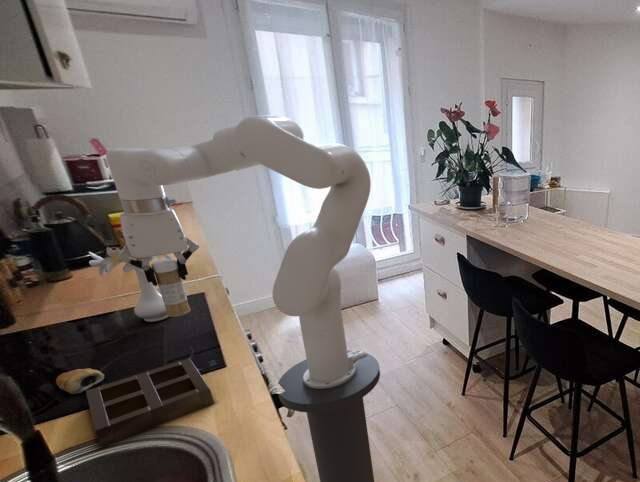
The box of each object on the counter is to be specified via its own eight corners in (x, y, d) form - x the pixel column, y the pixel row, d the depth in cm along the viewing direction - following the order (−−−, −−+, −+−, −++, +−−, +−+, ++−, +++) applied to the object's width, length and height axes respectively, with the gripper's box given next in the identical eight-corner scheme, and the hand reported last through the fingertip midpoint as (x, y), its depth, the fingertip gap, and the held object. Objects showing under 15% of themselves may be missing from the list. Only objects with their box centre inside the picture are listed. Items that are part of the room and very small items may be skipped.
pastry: (47, 388, 95) (41, 374, 94) (84, 372, 101) (78, 359, 100) (75, 396, 93) (69, 382, 91) (111, 379, 99) (106, 366, 98)
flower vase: (115, 318, 127) (87, 242, 118) (191, 304, 138) (170, 233, 130) (111, 335, 118) (80, 253, 109) (192, 318, 129) (170, 242, 120)
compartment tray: (193, 371, 103) (189, 357, 102) (214, 403, 92) (209, 388, 91) (92, 405, 90) (85, 390, 89) (101, 447, 79) (94, 430, 78)
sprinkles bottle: (178, 309, 103) (163, 258, 98) (196, 310, 102) (181, 259, 98) (162, 317, 98) (145, 264, 94) (180, 318, 98) (163, 265, 94)
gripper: (189, 198, 99) (208, 269, 106) (90, 208, 87) (118, 286, 94) (197, 203, 95) (216, 276, 101) (93, 213, 83) (122, 296, 89)
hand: (169, 280), depth 97 cm, fingers closed on sprinkles bottle, 4 cm apart
